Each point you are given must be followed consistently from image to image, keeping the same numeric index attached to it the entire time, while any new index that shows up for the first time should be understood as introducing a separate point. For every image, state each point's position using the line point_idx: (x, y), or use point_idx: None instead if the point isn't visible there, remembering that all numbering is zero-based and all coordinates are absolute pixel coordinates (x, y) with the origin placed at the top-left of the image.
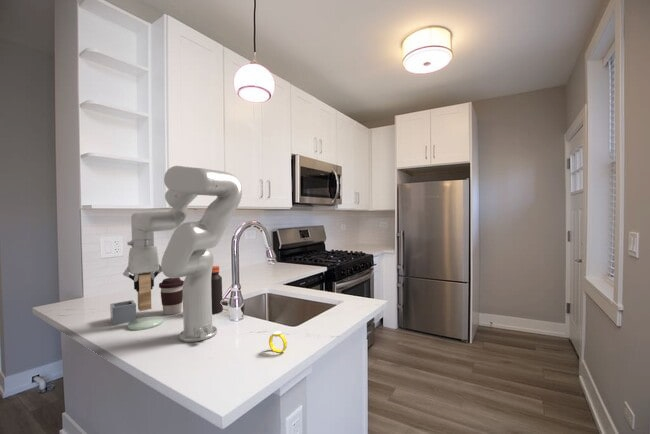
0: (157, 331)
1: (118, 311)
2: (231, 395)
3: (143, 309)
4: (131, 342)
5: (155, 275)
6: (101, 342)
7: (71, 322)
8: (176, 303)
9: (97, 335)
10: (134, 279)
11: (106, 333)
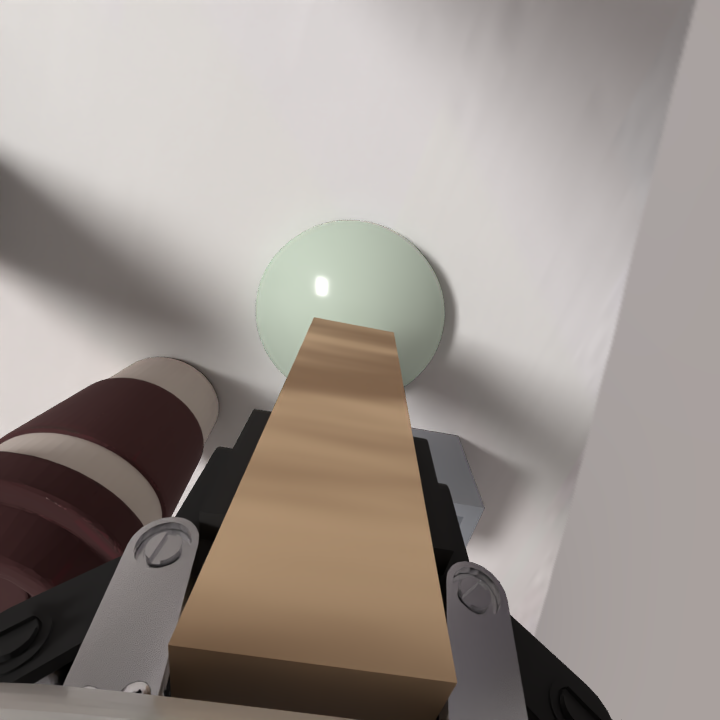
0: (355, 106)
1: (447, 480)
2: None
3: (369, 330)
4: (553, 30)
5: (89, 591)
6: (625, 222)
7: (524, 592)
8: (118, 380)
9: (568, 357)
10: (500, 609)
11: (531, 350)
